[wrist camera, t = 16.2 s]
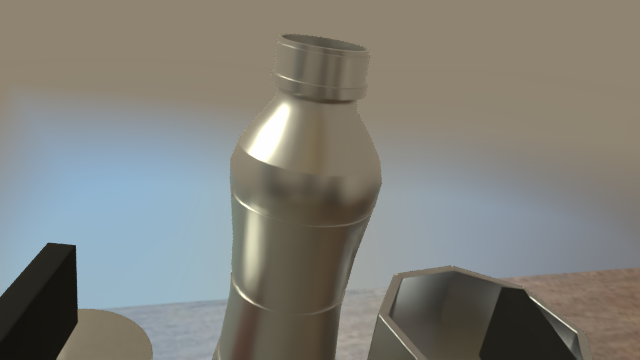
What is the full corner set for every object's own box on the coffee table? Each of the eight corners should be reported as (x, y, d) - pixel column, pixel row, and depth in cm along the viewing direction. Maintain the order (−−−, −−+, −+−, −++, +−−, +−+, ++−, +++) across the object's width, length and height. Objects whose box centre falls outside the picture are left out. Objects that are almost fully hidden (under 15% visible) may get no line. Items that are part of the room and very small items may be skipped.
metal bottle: (252, 360, 31) (296, 27, 24) (349, 415, 28) (431, 56, 21) (175, 428, 26) (201, 26, 18) (285, 505, 23) (365, 65, 16)
